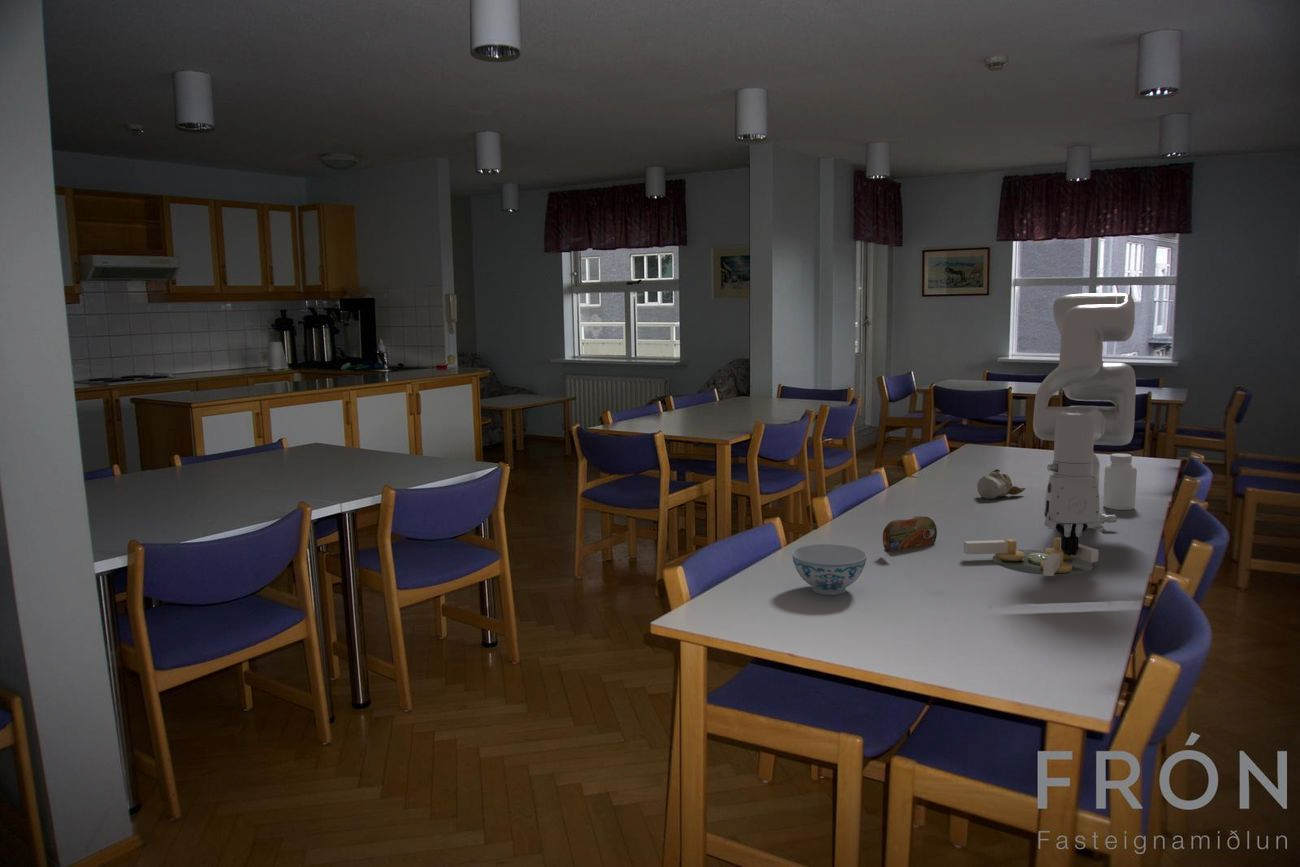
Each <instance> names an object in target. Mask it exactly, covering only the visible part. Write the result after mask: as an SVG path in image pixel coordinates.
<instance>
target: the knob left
mask: <svg viewBox="0 0 1300 867" xmlns="http://www.w3.org/2000/svg"><path fill="white" fill-rule="evenodd" d="M1017 544H1018V542H1017V539H1014V538H1013V539H1012V538H1006V539H995V540H994V539H993V540H970V541H969V540H966V541H963V553H964V554H965V555H987V554H989V555H993V554H994V555H995V557H996V558H998V559H1001V560H1007V561H1020V560H1024V555H1025V554H1024V553H1023V552H1021V551H1018V550H1019V549H1017Z"/></svg>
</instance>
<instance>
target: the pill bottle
mask: <svg viewBox="0 0 1300 867" xmlns="http://www.w3.org/2000/svg"><path fill="white" fill-rule="evenodd" d="M1109 457H1110V459H1109V460H1110V463H1107V464H1106V466H1105V467H1104V479H1103V482H1104V483H1103V496H1102V497H1103V500H1102V505H1103V507H1104V508H1107V509H1111V510H1116V511H1117V510H1118V511H1129V510H1134V509H1135V507H1136V506H1135V505H1136V495H1137V494H1136V492H1137V476H1138V475H1137V474H1138V470H1137V466H1135V465H1134V464H1132V463H1133V462H1132V460H1133V455H1132V454H1129V453H1118V452H1117V453H1112V454H1110V456H1109Z"/></svg>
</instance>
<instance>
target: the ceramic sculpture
mask: <svg viewBox="0 0 1300 867" xmlns="http://www.w3.org/2000/svg"><path fill="white" fill-rule="evenodd" d="M976 489H977V492H978V495H979V496H980V497H982V498H984V499H986V500H994V499H996V498H1001V497H1005V496H1007V495H1011V496H1015V495H1019V494H1021V493H1023V492H1024V491H1025V490H1026V487H1025V488H1024V487H1018V486H1016V485H1013V483H1012V479H1011V477H1010V476H1009V475H1008V474H1007V473H1004V472H1001V471H1000V469H994V470H992V471H990V473H989V474H988V476H986V475H983V476H981V477H980V478H979V480H978V482H977V484H976Z"/></svg>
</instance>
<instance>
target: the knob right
mask: <svg viewBox="0 0 1300 867" xmlns="http://www.w3.org/2000/svg"><path fill="white" fill-rule="evenodd" d="M1050 550H1061V551H1062V549H1061V536H1060V537H1059V536H1058V537H1053V547H1047V548H1045V550H1044V551H1045V554H1050ZM1075 557H1076V558H1079V559H1082V560H1085V561H1088V562H1090V563H1097V562H1099V549H1097V548H1094V547H1089V546H1087V545H1084V544H1080V543H1078V550H1077V554H1076V555H1067V554H1065V553H1063V559H1073V558H1075Z"/></svg>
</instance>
